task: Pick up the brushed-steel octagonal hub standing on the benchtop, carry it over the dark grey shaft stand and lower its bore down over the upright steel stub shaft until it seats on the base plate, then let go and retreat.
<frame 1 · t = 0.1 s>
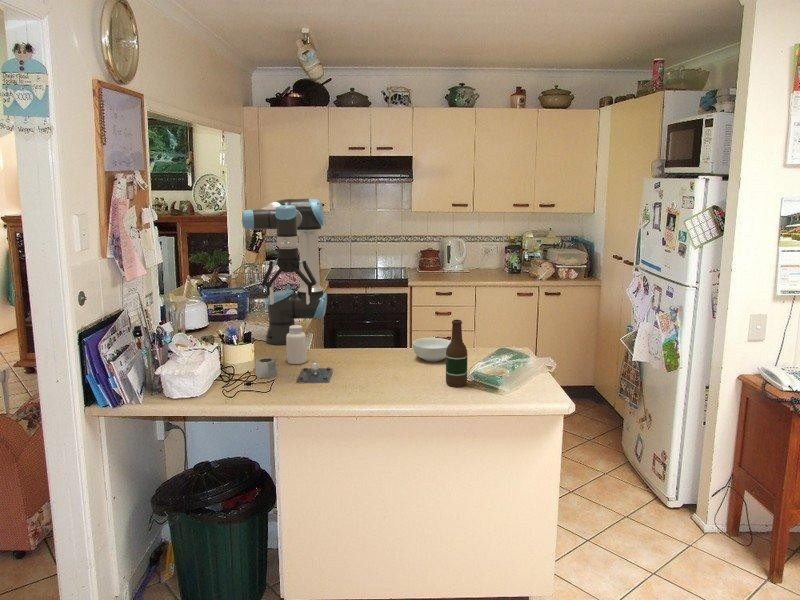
hand: (290, 303, 239), 28 cm above the countertop, tool pointing down, fingers open, 13 cm apart
beer bottle: (456, 384, 232), on the countertop
hub: (266, 375, 244), on the countertop
pill bottle: (297, 362, 260), on the countertop
cereal bowl: (433, 359, 263), on the countertop
shaft stand: (315, 376, 242), on the countertop
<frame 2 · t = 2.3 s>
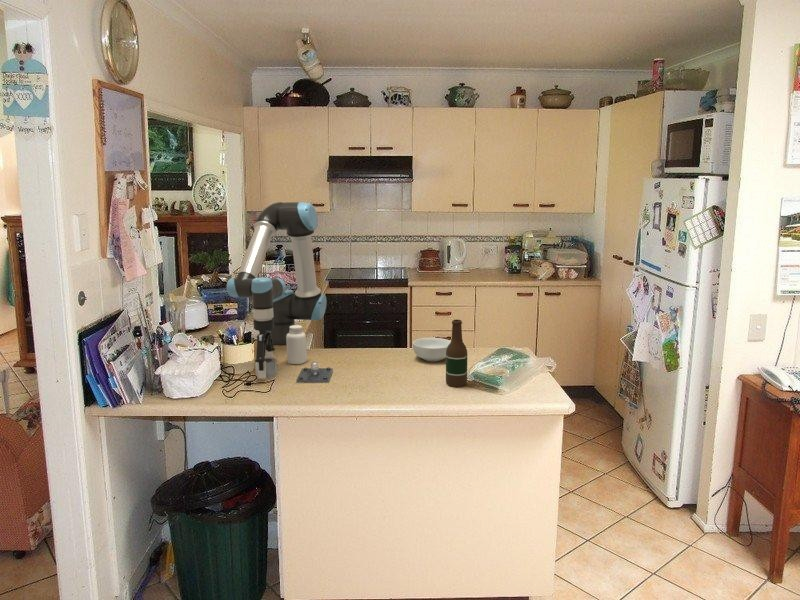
hand: (266, 372, 243), 1 cm above the countertop, tool pointing down, fingers open, 13 cm apart
nothing on the countertop moved.
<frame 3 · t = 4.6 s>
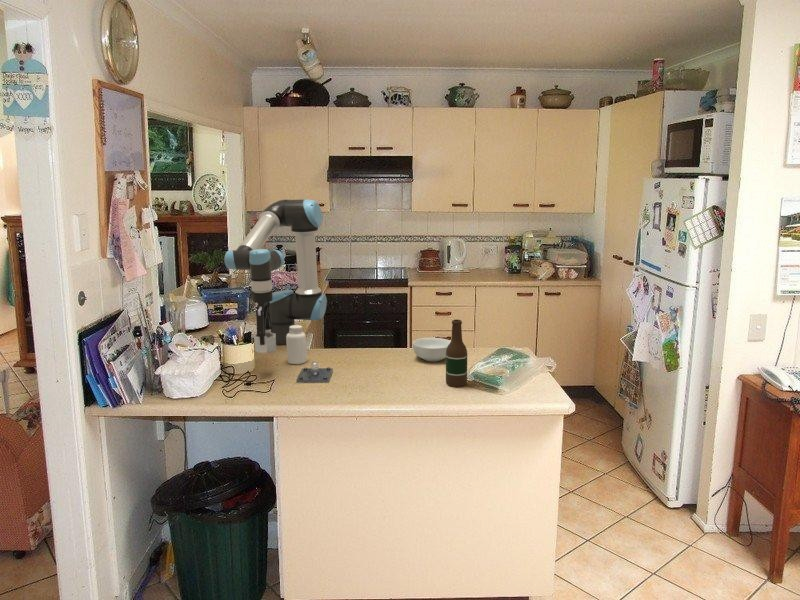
hand: (265, 349, 242), 10 cm above the countertop, tool pointing down, fingers closed on hub, 7 cm apart
hub: (265, 350, 242), point 10 cm above the countertop, touching gripper
everything else where it was.
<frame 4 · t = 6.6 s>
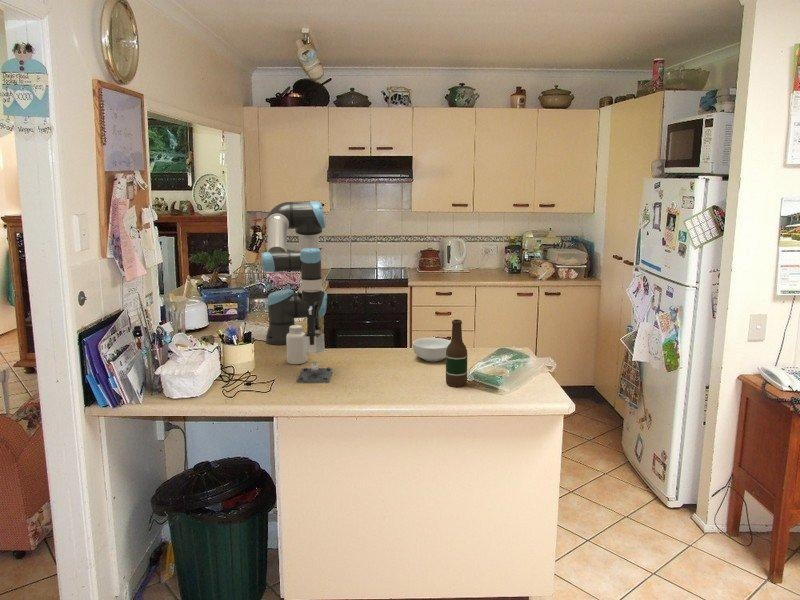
hand: (314, 349, 239), 11 cm above the countertop, tool pointing down, fingers closed on hub, 7 cm apart
hub: (314, 350, 239), point 10 cm above the countertop, touching gripper
everything else where it was.
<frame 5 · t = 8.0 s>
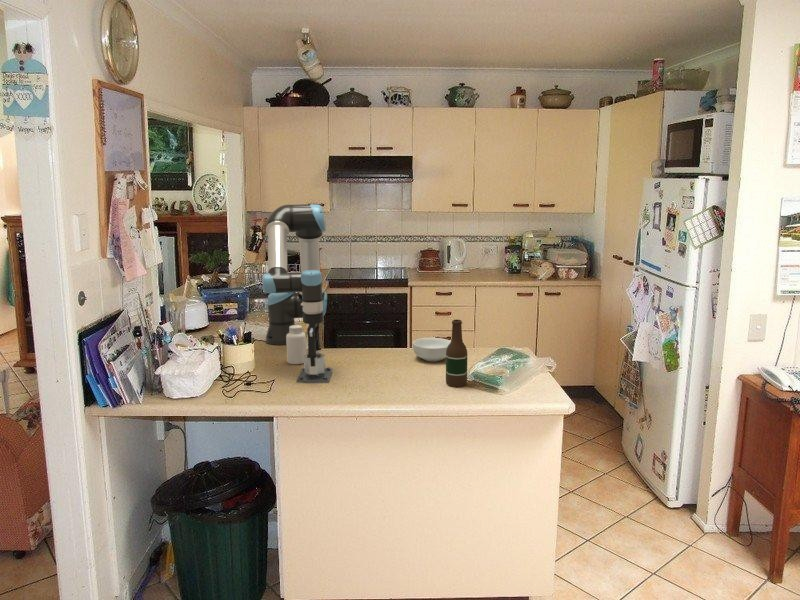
hand: (315, 370, 241), 2 cm above the countertop, tool pointing down, fingers closed on hub, 7 cm apart
hub: (314, 371, 241), point 2 cm above the countertop, touching gripper
everything else where it was.
when the fingers open (2 cm above the countertop, at t = 8.9 s): hub stays where it is, resting on shaft stand.
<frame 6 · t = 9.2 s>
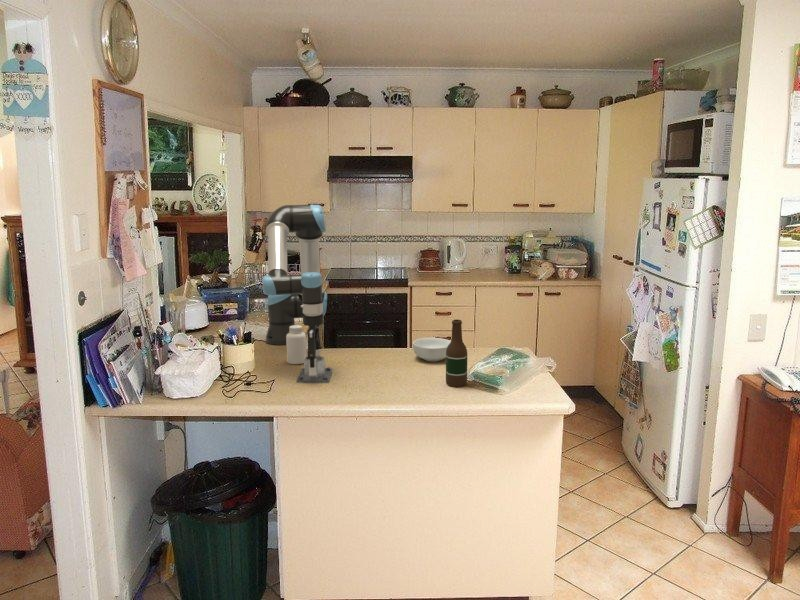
hand: (315, 370, 241), 2 cm above the countertop, tool pointing down, fingers open, 10 cm apart
hub: (315, 373, 242), point 1 cm above the countertop, touching shaft stand
everything else where it was.
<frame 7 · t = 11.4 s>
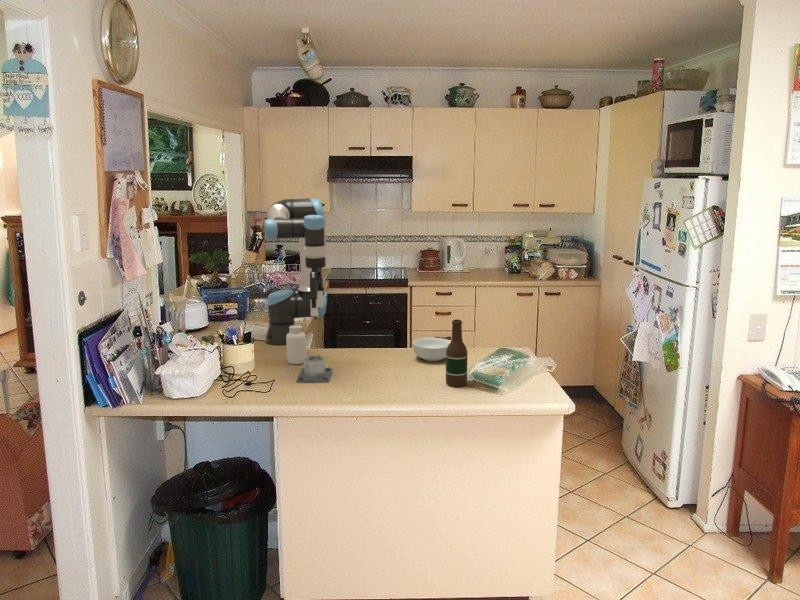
hand: (317, 311, 243), 24 cm above the countertop, tool pointing down, fingers open, 13 cm apart
nothing on the countertop moved.
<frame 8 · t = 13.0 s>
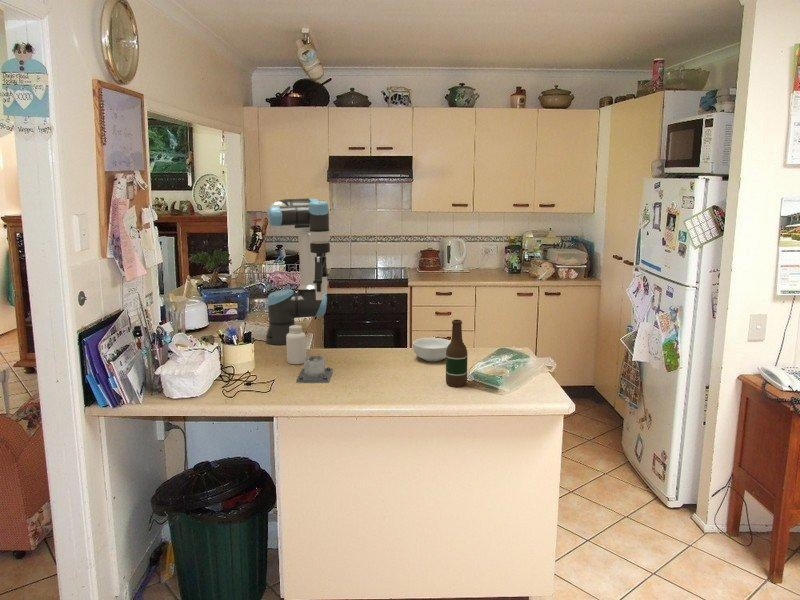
hand: (321, 296, 248), 29 cm above the countertop, tool pointing down, fingers open, 13 cm apart
nothing on the countertop moved.
at the end: hub 0.1 cm from the shaft stand (horizontally); hub point 1.0 cm above the countertop; hub tilted 0° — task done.
